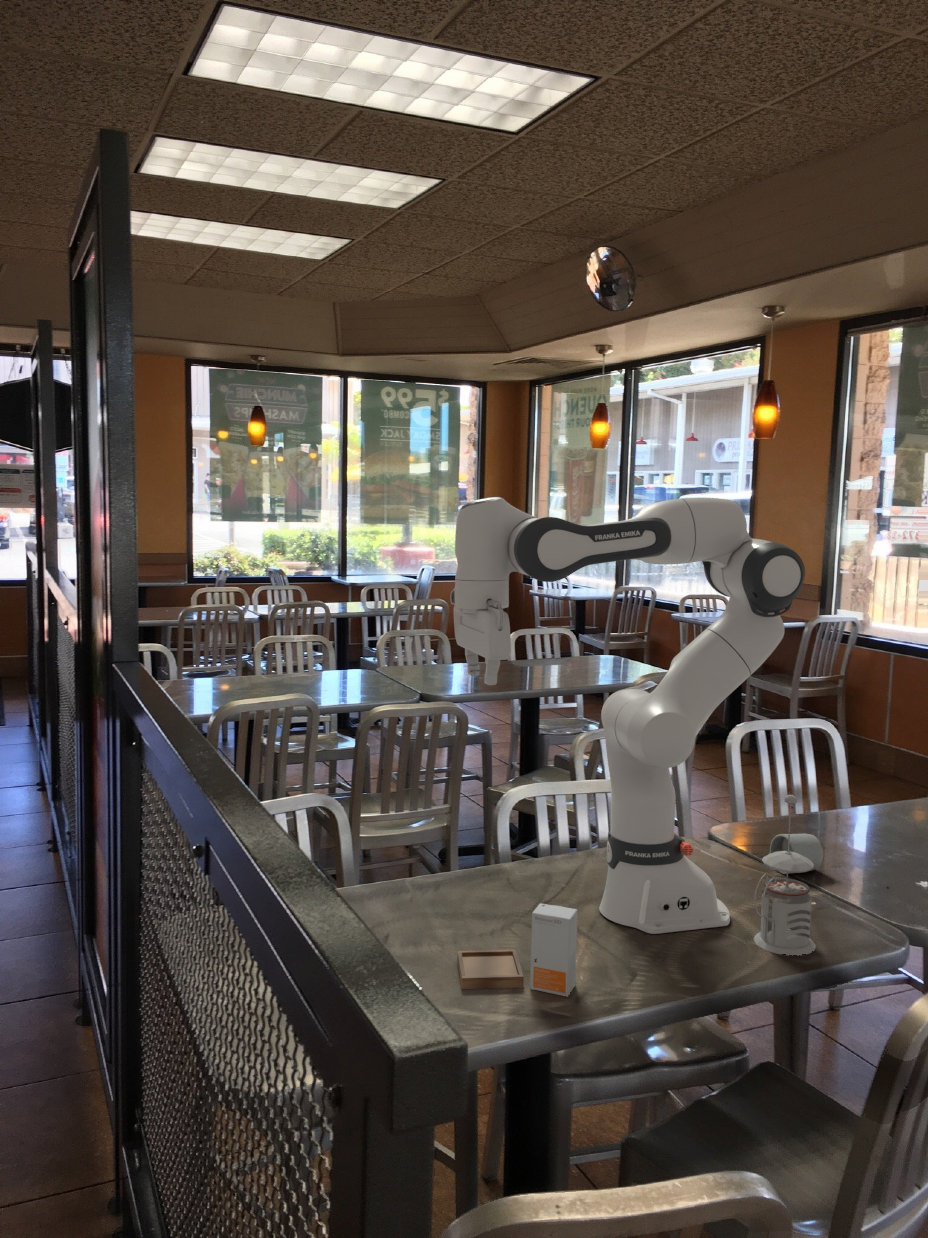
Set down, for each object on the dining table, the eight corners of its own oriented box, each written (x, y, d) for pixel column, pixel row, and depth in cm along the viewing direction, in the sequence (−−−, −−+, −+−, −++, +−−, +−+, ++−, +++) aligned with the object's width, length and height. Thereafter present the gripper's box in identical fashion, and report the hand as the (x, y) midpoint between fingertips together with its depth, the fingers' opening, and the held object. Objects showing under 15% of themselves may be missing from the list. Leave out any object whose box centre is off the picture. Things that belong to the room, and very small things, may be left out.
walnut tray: (515, 960, 157) (515, 949, 157) (523, 987, 148) (523, 976, 148) (457, 961, 156) (457, 951, 156) (461, 989, 147) (461, 978, 147)
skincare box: (529, 990, 147) (530, 912, 146) (538, 978, 151) (539, 902, 150) (568, 998, 145) (570, 919, 144) (576, 985, 149) (578, 908, 148)
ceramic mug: (826, 874, 196) (828, 836, 195) (793, 879, 193) (794, 841, 192) (790, 858, 206) (792, 821, 205) (758, 862, 203) (759, 825, 202)
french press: (828, 947, 163) (836, 798, 160) (780, 963, 157) (787, 809, 154) (780, 926, 171) (786, 783, 168) (733, 941, 165) (738, 793, 162)
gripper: (520, 601, 155) (520, 689, 156) (482, 591, 174) (482, 669, 176) (482, 602, 153) (482, 691, 154) (447, 592, 173) (447, 671, 174)
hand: (481, 679), depth 165 cm, fingers open, 8 cm apart
